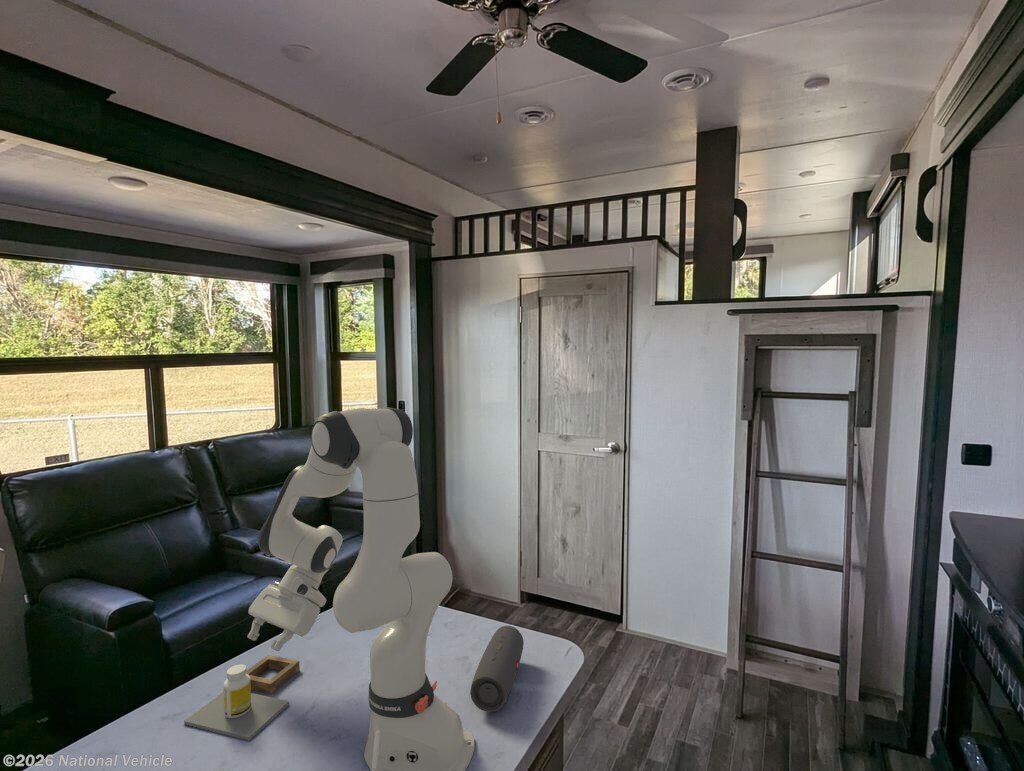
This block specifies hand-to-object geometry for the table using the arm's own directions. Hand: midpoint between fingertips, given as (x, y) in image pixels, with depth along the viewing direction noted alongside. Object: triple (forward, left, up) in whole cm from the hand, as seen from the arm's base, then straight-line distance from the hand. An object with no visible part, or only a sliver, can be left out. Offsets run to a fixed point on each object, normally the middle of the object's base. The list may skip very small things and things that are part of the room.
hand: (262, 644), depth 121 cm
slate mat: (+2, +6, -13) cm, 15 cm away
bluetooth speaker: (-53, -20, -14) cm, 58 cm away
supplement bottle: (+2, +6, -13) cm, 14 cm away
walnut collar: (+5, -7, -13) cm, 16 cm away
